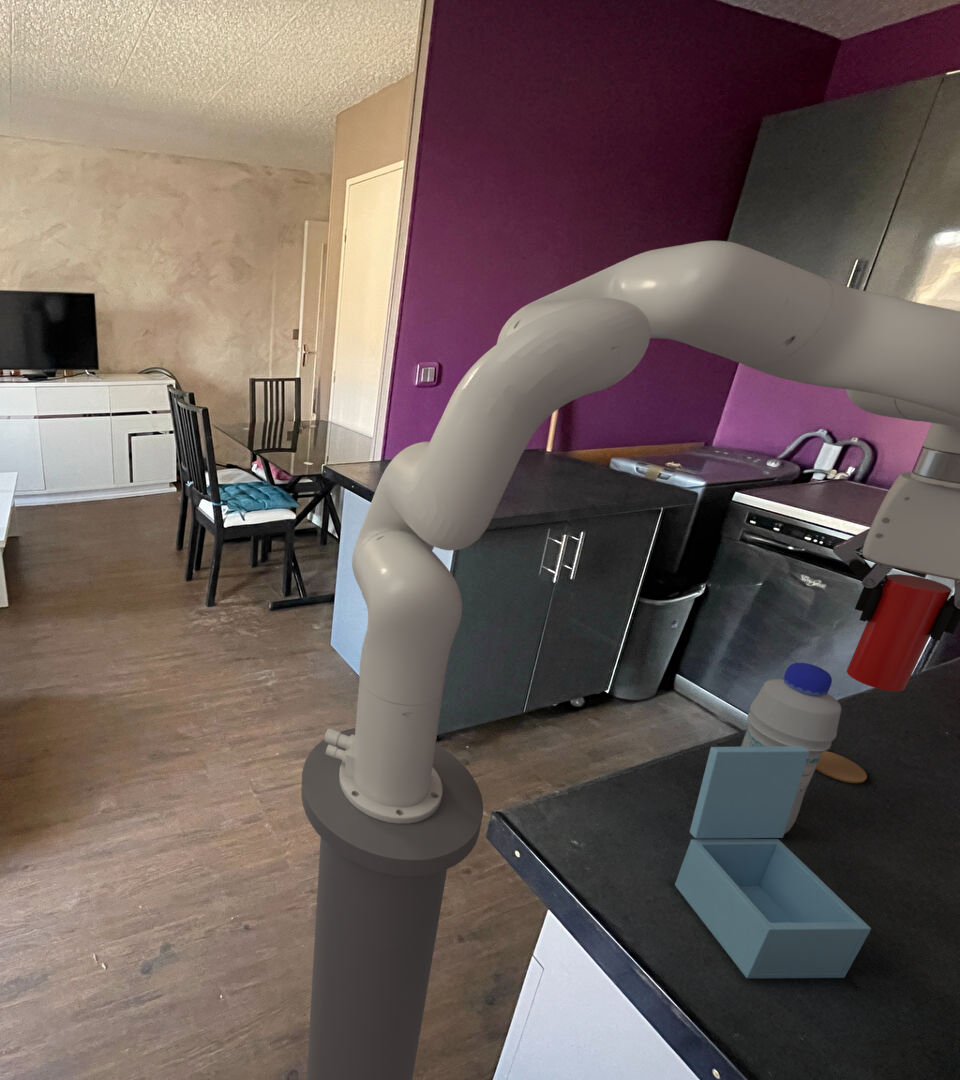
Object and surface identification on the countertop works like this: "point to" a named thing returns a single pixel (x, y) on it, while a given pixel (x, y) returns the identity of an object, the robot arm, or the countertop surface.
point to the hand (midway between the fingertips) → (899, 624)
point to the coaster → (840, 768)
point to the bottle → (795, 719)
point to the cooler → (770, 909)
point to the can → (897, 631)
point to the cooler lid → (748, 791)
